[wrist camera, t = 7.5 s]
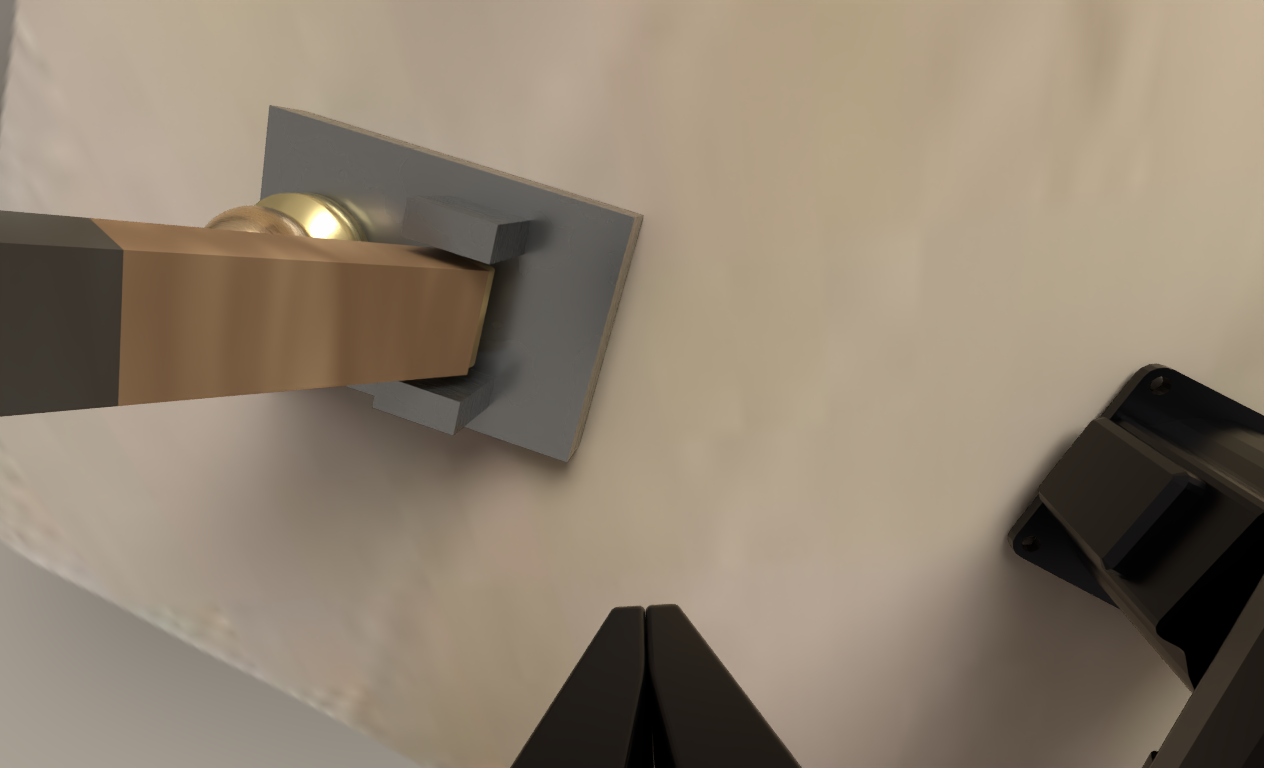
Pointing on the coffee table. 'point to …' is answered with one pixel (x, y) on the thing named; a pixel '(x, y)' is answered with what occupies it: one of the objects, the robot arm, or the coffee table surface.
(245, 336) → the lever
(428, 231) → the base
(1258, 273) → the coffee table surface
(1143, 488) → the robot arm
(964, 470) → the coffee table surface
